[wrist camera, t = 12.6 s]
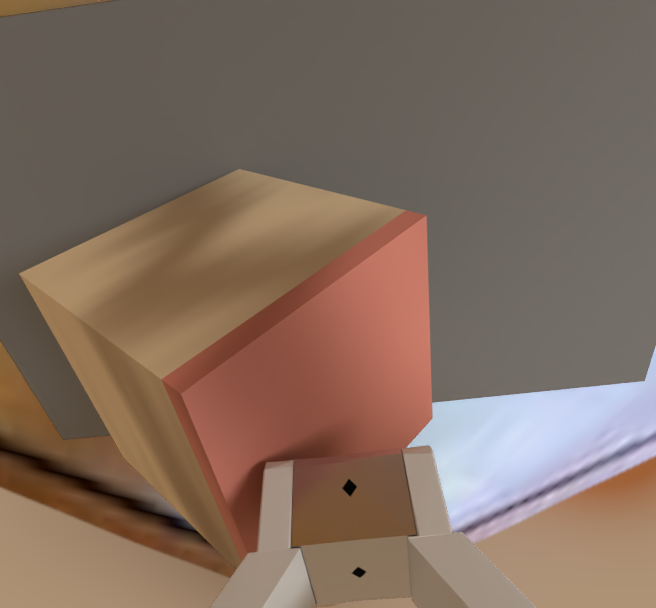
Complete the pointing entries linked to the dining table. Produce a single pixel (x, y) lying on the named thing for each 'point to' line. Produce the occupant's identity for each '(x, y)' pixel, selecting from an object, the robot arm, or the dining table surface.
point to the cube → (246, 338)
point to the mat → (358, 160)
